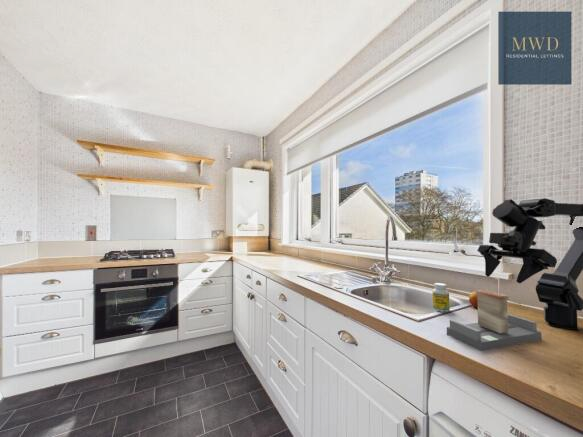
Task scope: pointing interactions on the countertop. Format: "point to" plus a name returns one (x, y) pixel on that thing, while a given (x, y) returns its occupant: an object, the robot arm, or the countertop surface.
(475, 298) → the fruit
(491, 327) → the wooden rectangular block
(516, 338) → the grooved grey tray
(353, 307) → the countertop surface
